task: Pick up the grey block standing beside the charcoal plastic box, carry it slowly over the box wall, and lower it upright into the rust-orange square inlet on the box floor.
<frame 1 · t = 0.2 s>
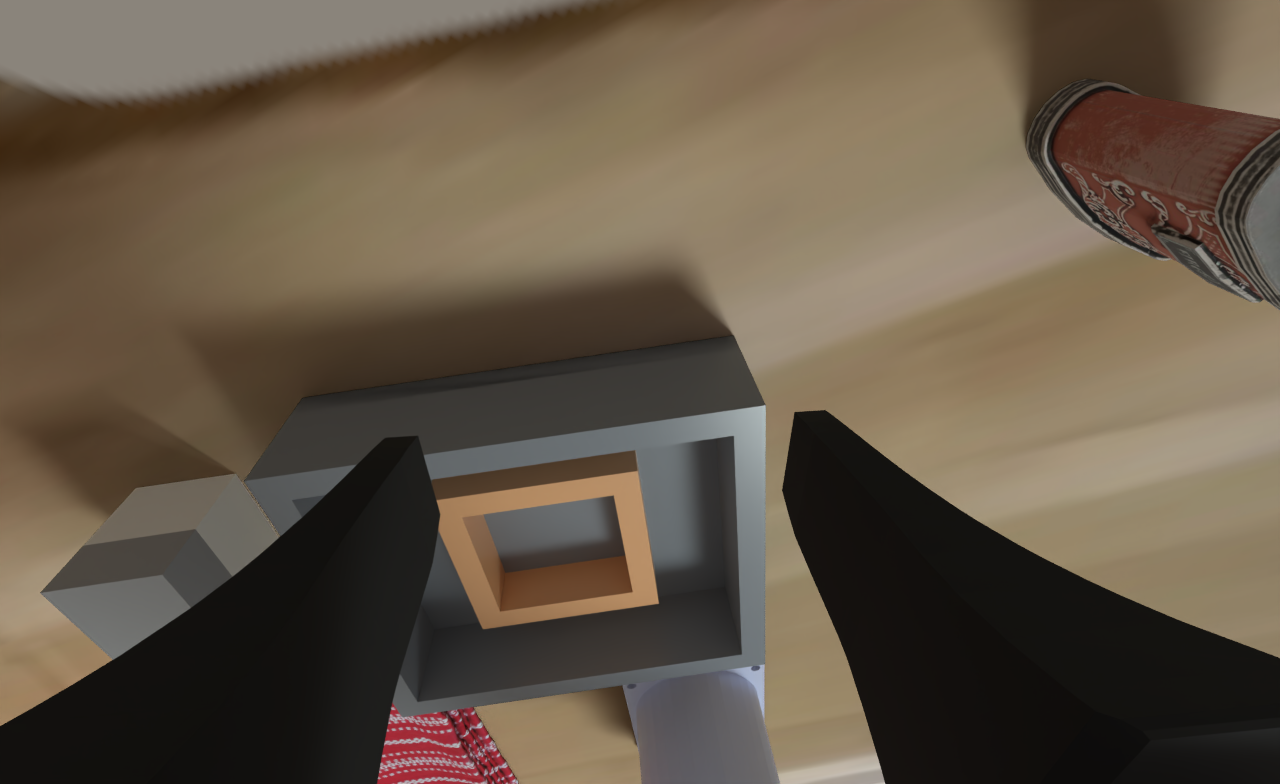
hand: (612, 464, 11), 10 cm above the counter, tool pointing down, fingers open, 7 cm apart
grey block: (212, 515, 24), on the counter
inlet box: (555, 503, 25), on the counter
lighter: (1114, 171, 20), on the counter
dish towel: (368, 756, 37), on the counter
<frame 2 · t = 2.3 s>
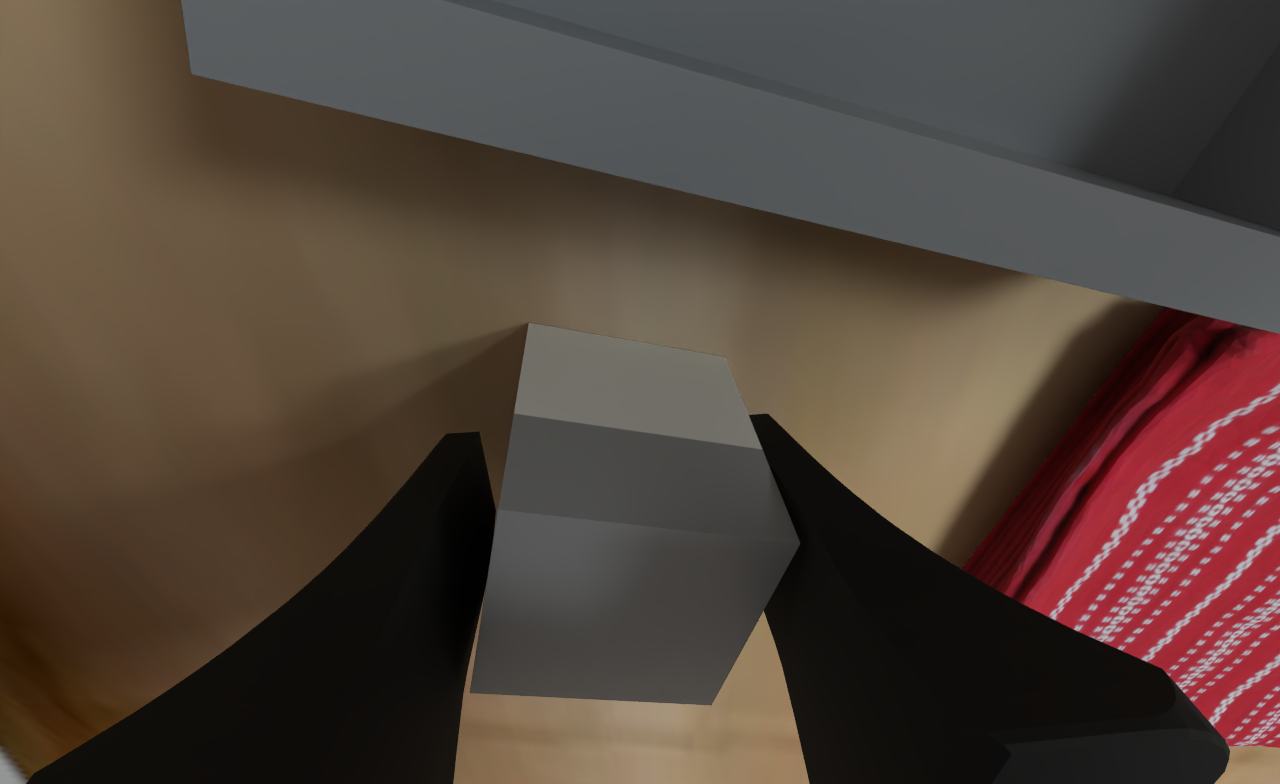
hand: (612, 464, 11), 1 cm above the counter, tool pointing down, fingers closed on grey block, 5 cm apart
grey block: (609, 420, 13), on the counter, touching gripper
dish towel: (1268, 558, 19), on the counter
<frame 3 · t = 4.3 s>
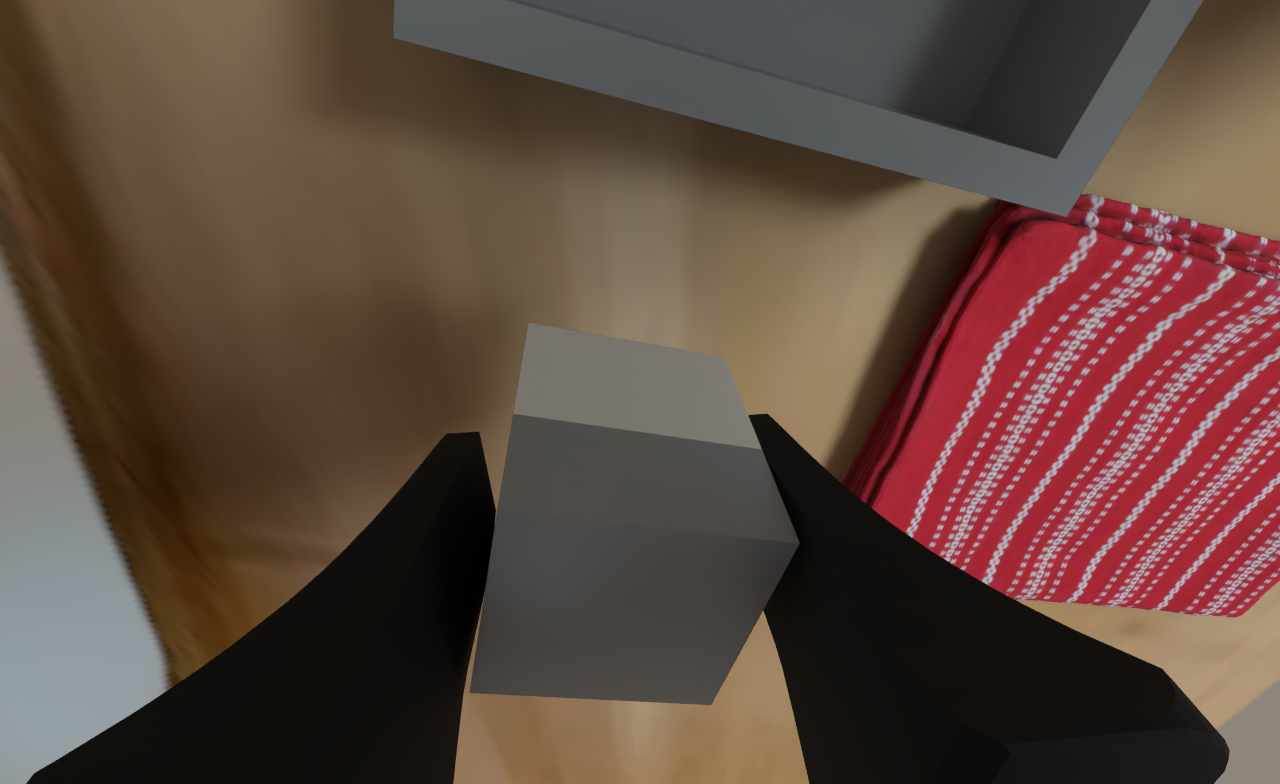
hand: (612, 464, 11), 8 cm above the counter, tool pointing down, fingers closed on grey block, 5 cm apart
grey block: (609, 420, 13), point 6 cm above the counter, touching gripper
dish towel: (1117, 437, 24), on the counter
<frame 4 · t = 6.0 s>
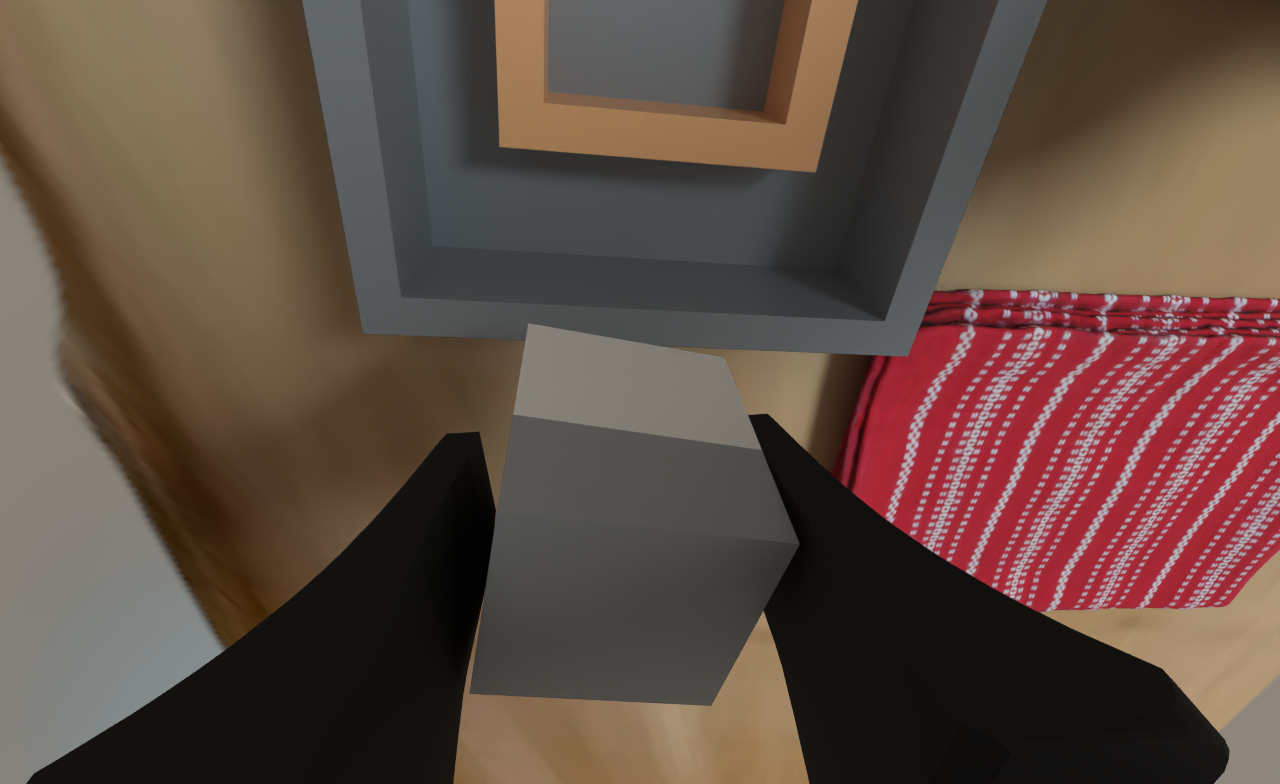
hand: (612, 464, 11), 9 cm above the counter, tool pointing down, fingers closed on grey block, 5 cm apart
grey block: (608, 421, 13), point 7 cm above the counter, touching gripper
dish towel: (1064, 464, 26), on the counter
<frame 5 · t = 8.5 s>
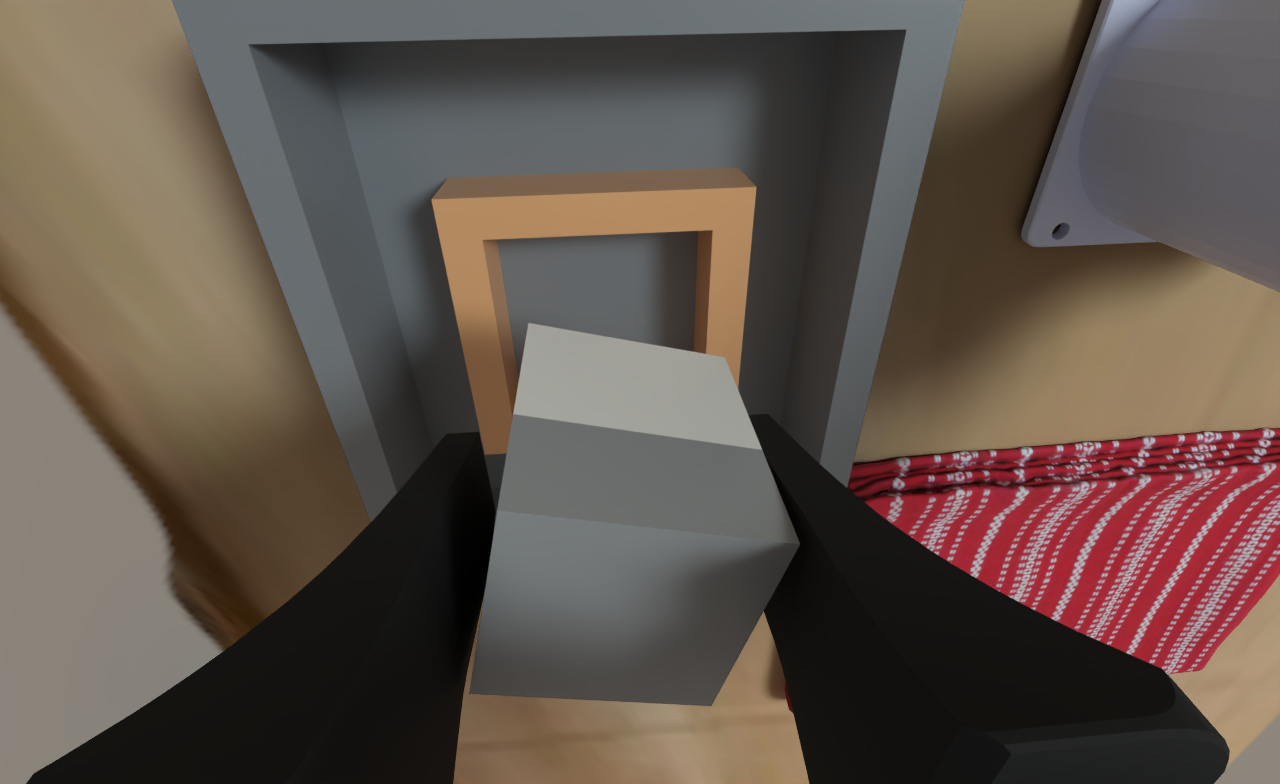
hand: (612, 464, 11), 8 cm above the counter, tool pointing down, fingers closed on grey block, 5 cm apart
grey block: (609, 420, 13), point 7 cm above the counter, touching gripper
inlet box: (601, 291, 18), on the counter
dish towel: (1021, 565, 29), on the counter
when the fingers open (4 cm above the counter, at t = 9.9 s): grey block drops 1 cm, resting on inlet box.
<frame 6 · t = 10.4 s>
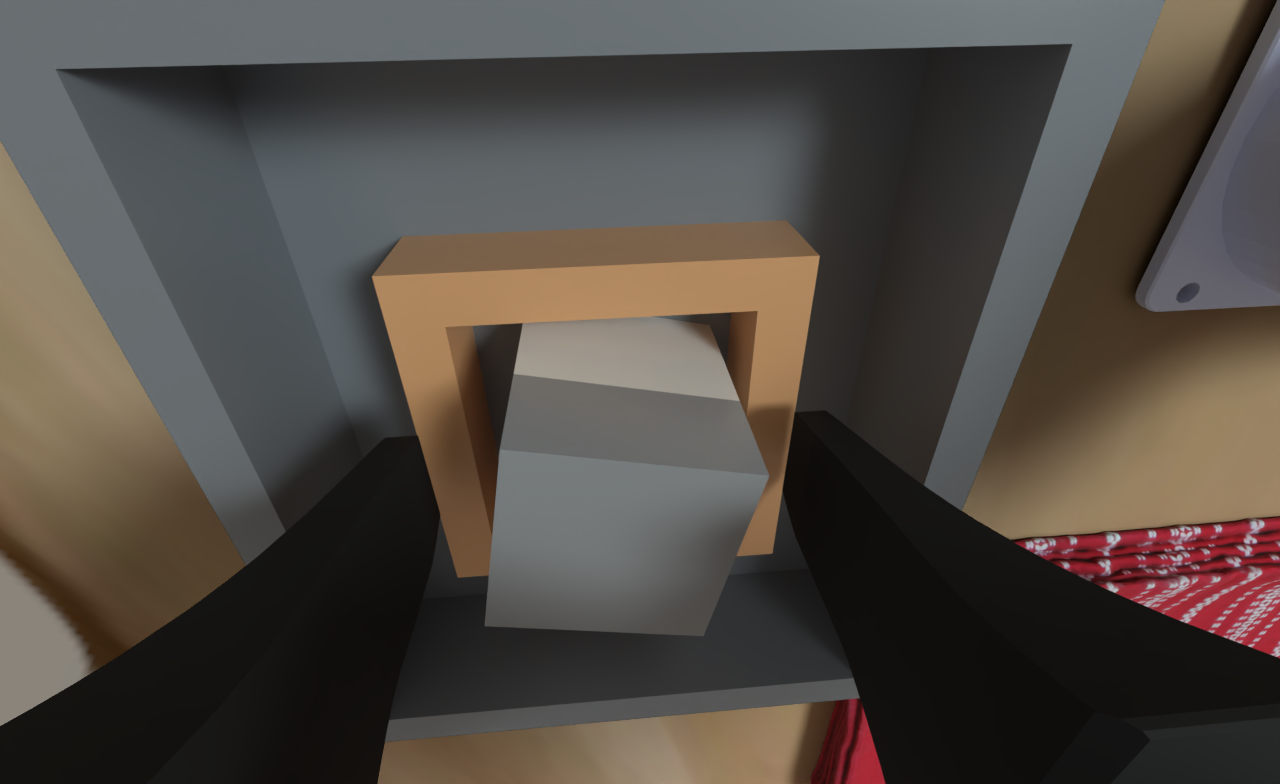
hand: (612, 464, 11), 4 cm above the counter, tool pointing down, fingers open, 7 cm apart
grey block: (606, 389, 14), point 1 cm above the counter, touching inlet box
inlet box: (605, 366, 15), on the counter
dish towel: (1086, 649, 25), on the counter
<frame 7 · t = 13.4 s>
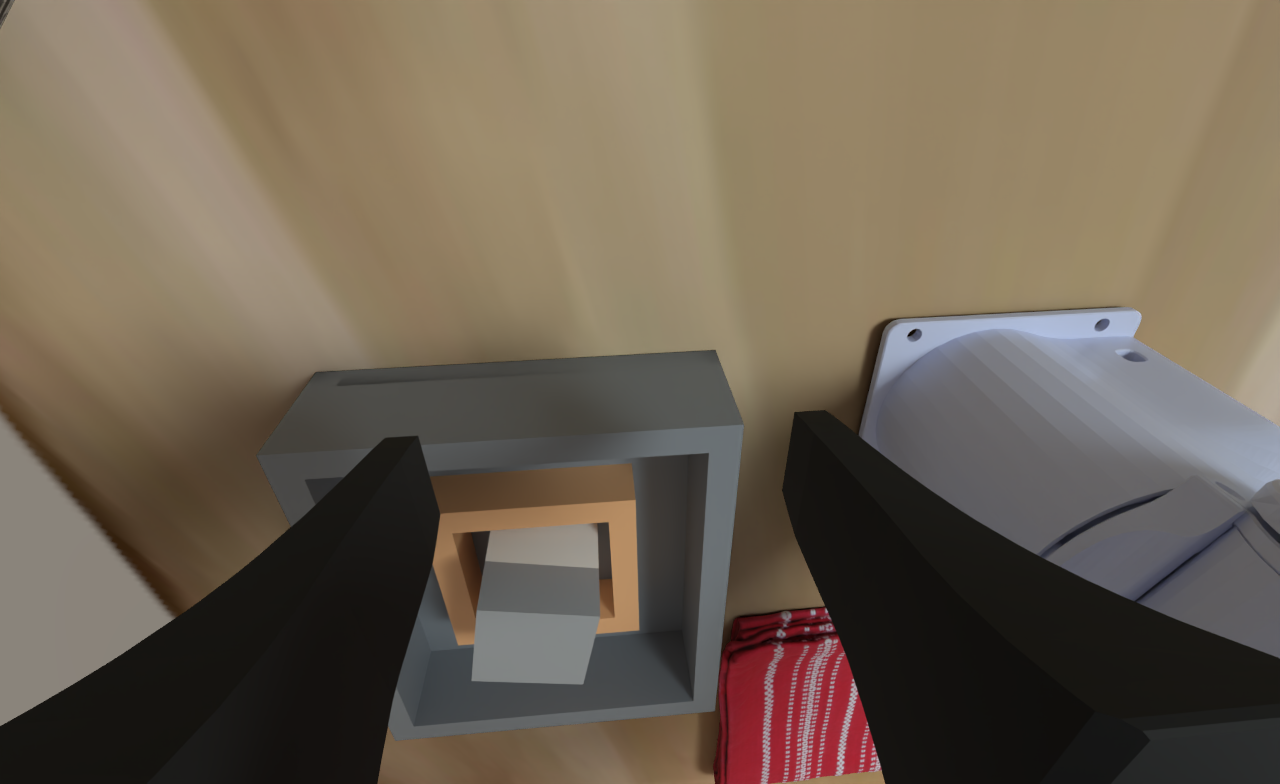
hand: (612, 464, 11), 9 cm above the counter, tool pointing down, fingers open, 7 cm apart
grey block: (541, 539, 24), point 1 cm above the counter, touching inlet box
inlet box: (543, 521, 25), on the counter
dish towel: (900, 674, 36), on the counter
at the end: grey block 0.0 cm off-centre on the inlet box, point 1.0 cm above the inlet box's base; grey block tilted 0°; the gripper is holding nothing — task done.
